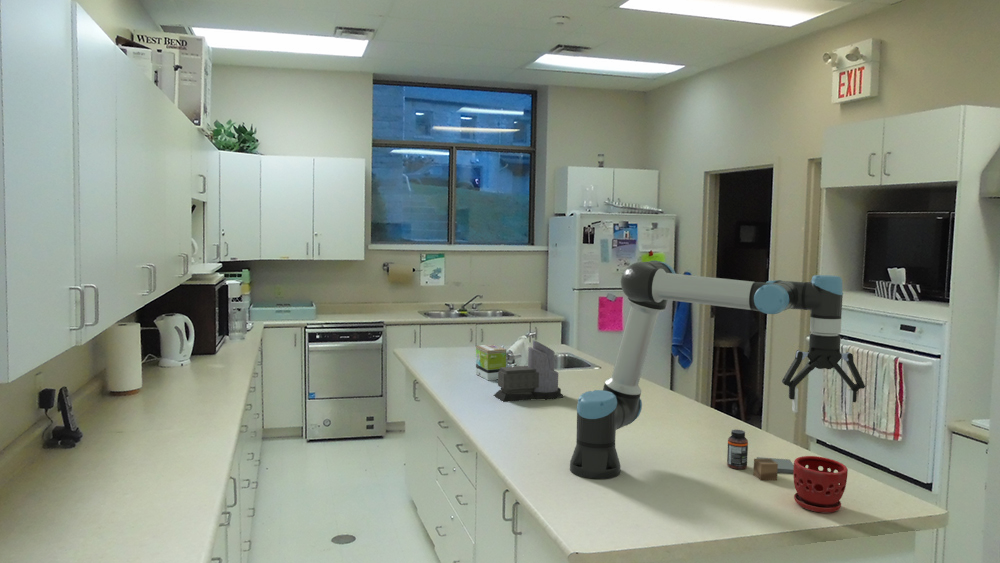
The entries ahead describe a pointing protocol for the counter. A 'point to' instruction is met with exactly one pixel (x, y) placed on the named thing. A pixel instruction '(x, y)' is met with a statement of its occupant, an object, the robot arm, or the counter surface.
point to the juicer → (530, 377)
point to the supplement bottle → (737, 450)
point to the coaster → (782, 465)
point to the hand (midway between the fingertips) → (821, 412)
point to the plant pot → (819, 483)
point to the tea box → (489, 361)
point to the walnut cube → (765, 469)
